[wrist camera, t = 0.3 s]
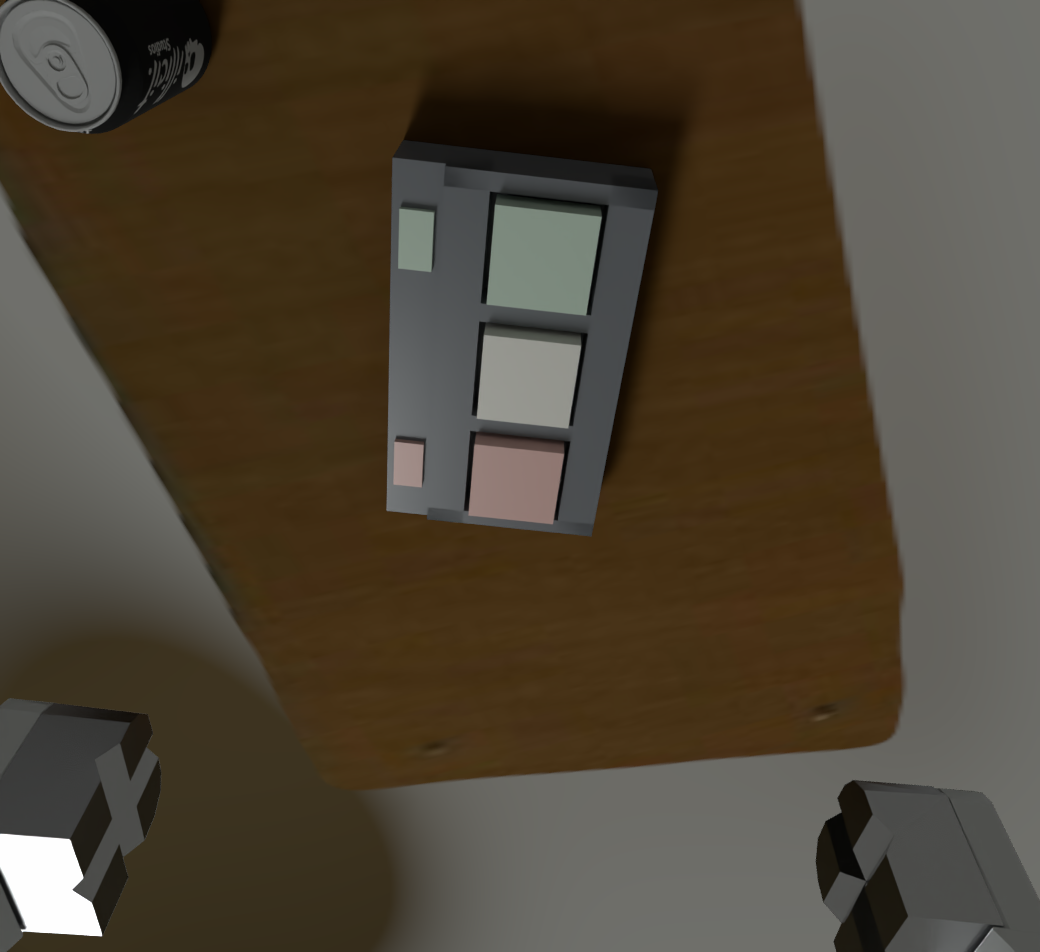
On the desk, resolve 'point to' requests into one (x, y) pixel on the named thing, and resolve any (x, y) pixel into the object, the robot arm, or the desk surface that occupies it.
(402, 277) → the keypad
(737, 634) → the desk surface
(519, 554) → the desk surface
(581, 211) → the sage key
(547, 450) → the rose key
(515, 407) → the ivory key
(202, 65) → the beverage can
